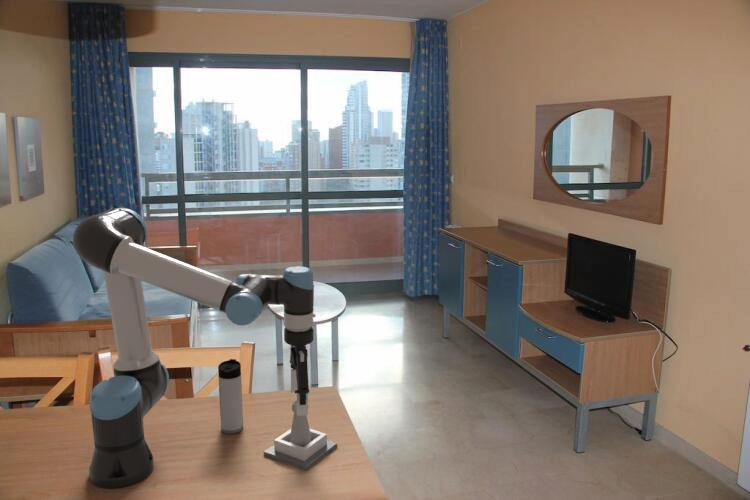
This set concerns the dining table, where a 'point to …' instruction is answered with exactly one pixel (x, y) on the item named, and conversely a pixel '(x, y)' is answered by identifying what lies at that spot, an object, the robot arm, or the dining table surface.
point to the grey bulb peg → (299, 429)
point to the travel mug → (230, 396)
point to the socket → (301, 450)
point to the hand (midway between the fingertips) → (298, 403)
